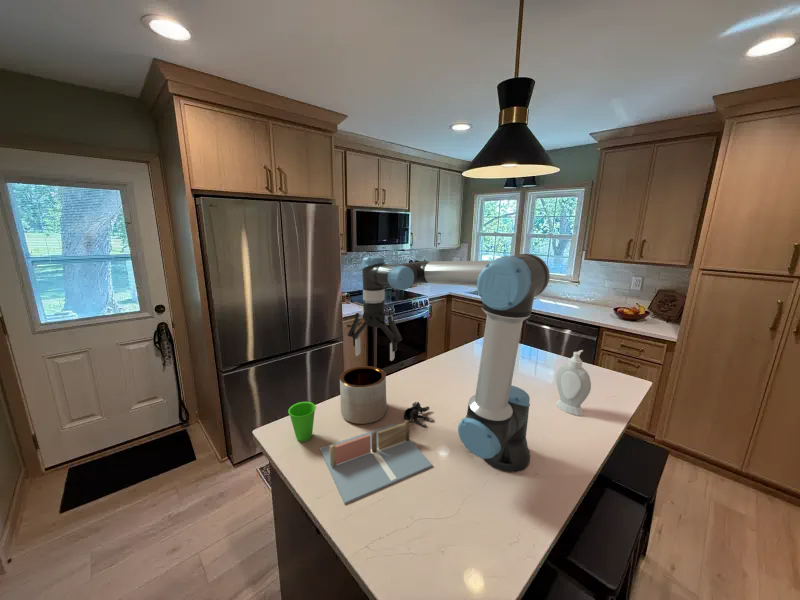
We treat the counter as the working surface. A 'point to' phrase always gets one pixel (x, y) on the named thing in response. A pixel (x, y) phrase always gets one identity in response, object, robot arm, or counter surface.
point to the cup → (302, 419)
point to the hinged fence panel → (349, 450)
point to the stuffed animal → (416, 414)
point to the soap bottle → (573, 385)
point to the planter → (363, 394)
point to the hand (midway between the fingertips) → (374, 357)
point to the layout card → (375, 467)
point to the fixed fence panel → (390, 436)
